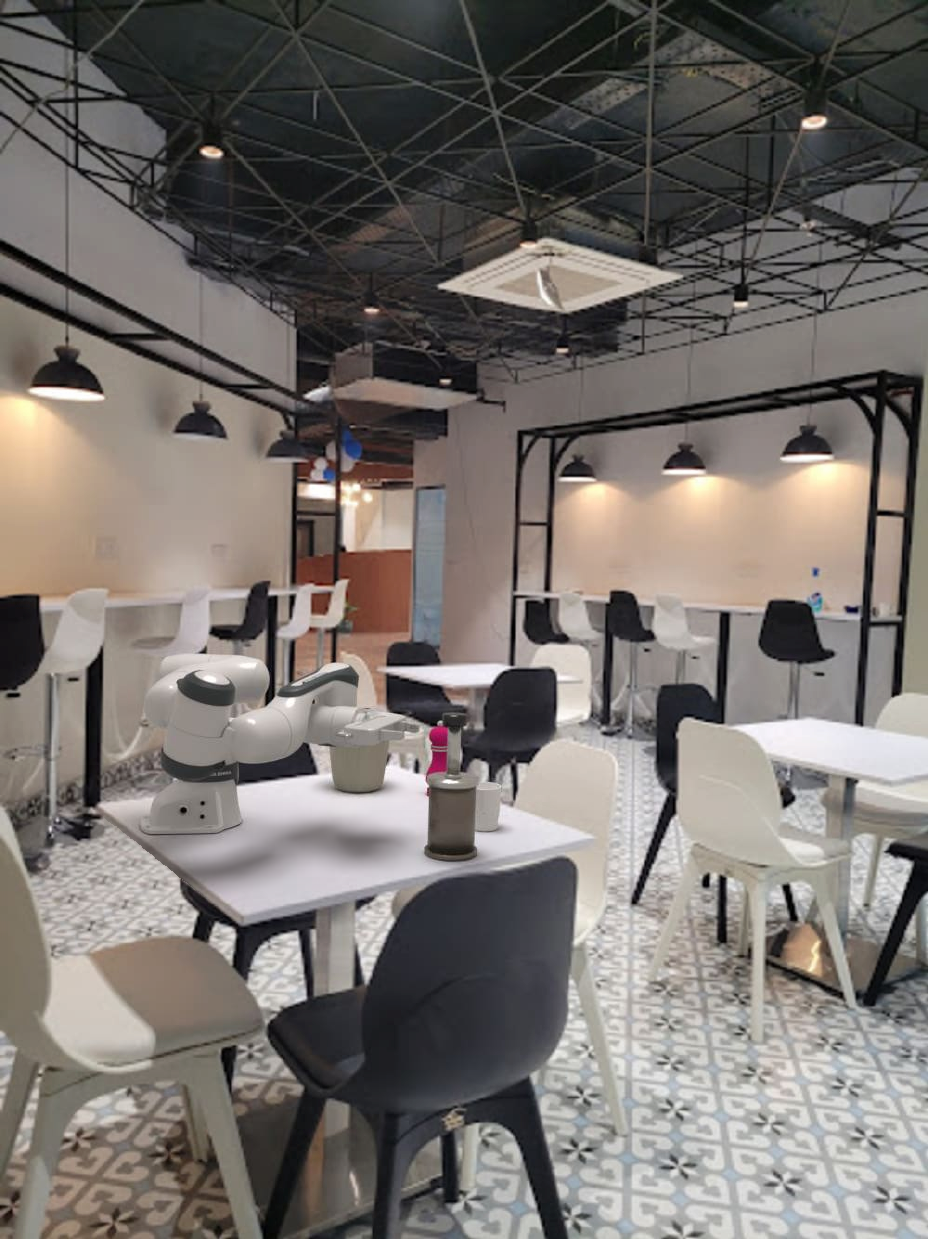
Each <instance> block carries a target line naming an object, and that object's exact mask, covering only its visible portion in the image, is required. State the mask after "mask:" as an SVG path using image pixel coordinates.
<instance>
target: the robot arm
mask: <svg viewBox="0 0 928 1239" xmlns="http://www.w3.org/2000/svg"><path fill="white" fill-rule="evenodd" d="M270 679H271V678H270V672H269V670H268V667H267V666H266V664H265V662H264V661H262V660H261V659H260V658H259V659H258V658H255V657H251V656H245V655H240V654H239V655H238V654H212V653H211V654H210V653H190V652H189V653H188V652H187V653H179V654H174V655H168V656H166V657H164V658H163V659H162V660H161V662H160V663H159V664H158V667H157V669H156V673H155V683H154V684H153V685H152V686H151V687H150V688H149V690H148V691H147V692H146V695H145V696H144V699H143V704H142V705H143V707H142V708H143V713H144V714H145V717H146V719H147V720H148V722H149V723H150V724H151V725H153V726H154V727H156V728H159V729H164V730H165V736H164V741H163V746H162V748H161V749H160V759H159V760H160V767H161V769H162V770H163V771H164V772H165V773H166V774H167V775H168V776H170V777H171V778H174V779H175V780H174V781H173V782H171V783H170V784H169V785H168V786H166V787H164V788H163V789H161V791H159V792H158V793H156V795H155V796H154V798H153V799H152V803H151V806H150V812H149V814H146V815H144V816H142V817H141V819H140V821H139V828H140V830H141V831H142V832H143V833H146V834H149V835H168V834H169V835H174V834H175V835H176V834H177V835H179V834H185V835H186V834H217V833H218V834H219V833H220V832H222V831H224V830H227V829H229V828H232V827H236V826H237V825H239V824H240V825H241V823H243V817H242V814H241V813H242V812H241V810H240V804H239V797H238V785H239V784H238V783H239V774H240V773H239V772H240V771H239V763H243V764H264V763H269V762H275V761H278V760H281V759H284V758H287V757H290V756H291V755H293V754H294V753H296V752H297V751H298V750H299V748H301V746H302V745H303V743H305V744H311V745H318V746H320V747H329V748H330V747H337V746H341V747H352V748H358V747H359V746H360V745H363V746H374V745H376V744H378V743H380V742H383V741H389V740H390V741H402V740H405V732H407V733H408V732H409V733H411V734H417V733H420V731H421V730H420V729H421V727H420V724H419V723H412V722H409V721H407V716H406V715H402V714H398V713H393V712H387V711H381V710H374V708H373V707H358V706H357V703H358V689H359V688H358V687H359V679H360V675H359V674H358V672H357V671H356V669H355V668H354V667H353V666H352V665H351V664H347V663H345V662H344V663H343V662H330V663H326V664H324V665H321V666H320V667H318V668H317V669H316V670H314V671H313V672H310V673H309V674H307V675H304V676H302V677H300V678H297V679H295V680H293V681H291V682H289V683H287V684H285V685H283V686H282V687H281V688H280V689H279V690H278V691H277V693H276V695H275V696H274V697H273V699H272V700H271V701H270V702H269V703H268V704H267V705H266V706H264V707H261V708H256V709H252V710H250V711H247V712H244V713H242V714H240V715H239V716H236V717H231V714H232V713H231V712H232V707H233V706H236V705H239V704H245V703H246V704H247V703H253V702H257V701H258V702H259V701H260V700H261V699H262V698H263V697H264V696H265V695H266V693H267V691H268V689H269V686H270ZM313 701H314V703H313ZM390 741H389V742H390Z"/></svg>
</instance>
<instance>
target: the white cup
mask: <svg viewBox="0 0 928 1239" xmlns="http://www.w3.org/2000/svg"><path fill="white" fill-rule="evenodd" d="M501 800H502V785H501V784H499V783H496V782H492V781H491V782H490V781H479V785H478V786H476V815H475V832H476V831H477V832H493V831H496V830H498V828H499V818H500V812H501Z"/></svg>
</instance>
